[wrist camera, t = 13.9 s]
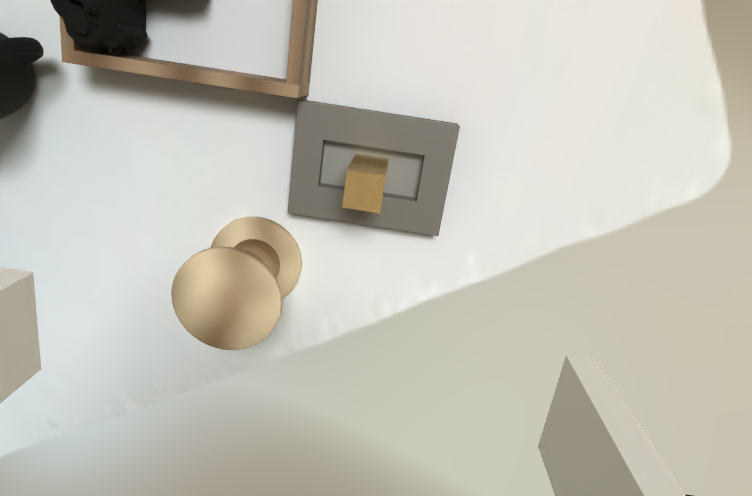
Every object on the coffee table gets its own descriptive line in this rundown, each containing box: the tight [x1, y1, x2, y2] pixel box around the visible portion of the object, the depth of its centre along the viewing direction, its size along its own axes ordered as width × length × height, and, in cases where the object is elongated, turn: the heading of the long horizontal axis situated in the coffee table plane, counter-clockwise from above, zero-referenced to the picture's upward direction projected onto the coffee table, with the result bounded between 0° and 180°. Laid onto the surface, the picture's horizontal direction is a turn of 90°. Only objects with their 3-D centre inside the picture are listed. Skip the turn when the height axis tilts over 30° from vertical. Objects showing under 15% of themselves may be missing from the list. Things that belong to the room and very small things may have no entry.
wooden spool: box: [171, 217, 302, 350], centre depth 47 cm, size 9×9×10 cm
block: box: [342, 153, 389, 213], centre depth 44 cm, size 3×3×8 cm
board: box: [288, 100, 460, 236], centre depth 47 cm, size 14×10×2 cm
